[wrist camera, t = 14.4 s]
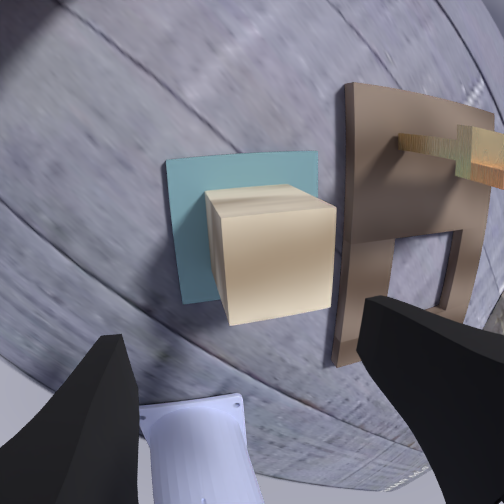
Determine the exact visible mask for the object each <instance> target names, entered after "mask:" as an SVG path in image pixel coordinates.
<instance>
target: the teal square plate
mask: <svg viewBox="0 0 504 504" xmlns="http://www.w3.org/2000/svg"><path fill="white" fill-rule="evenodd" d="M166 168H167V180H168V191H169V201H170V211H171V220H172V229H173V237H174V245H175V253H176V261H177V268H178V275H179V282H180V289H181V296H182V302H183V305H184V304H191V303H199V302H206V301H213V300H220V299H221V298H220V295H219V292H218V289H217V286H216V283H215V280H214V277H213V274H212V270H211V260H210V249H209V238H208V227H207V215H206V202H205V191H209V190H219V189H230V188H241V187H253V186H265V185H279V184H289V185H291V186H293V187H295V188H297V189H300V190H302V191H304V192H306V193H308V194H310V195H312V196H314V197H316V198H318V151H285V152H259V153H241V154H226V155H213V156H201V157H190V158H180V159H171V160H166Z"/></svg>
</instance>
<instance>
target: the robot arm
mask: <svg viewBox="0 0 504 504" xmlns="http://www.w3.org/2000/svg"><path fill="white" fill-rule="evenodd" d="M356 351H357V353H358V355H359V357H360V359H361V361H362V363H363V365H364V366H365V368H366V370H367V371H368V373H369V375H370V376H371V378H372V379H373V380H374V382H375V383H376V384H377V386H378V387H379V388H380V390H381V391H382V392H383V393H384V395H385V396H386V397H387V399H388V400H389V401H390V402H391V404H392V405H393V406H394V408H395V409H396V410H397V412H398V413H399V414H400V415H401V417H402V418H403V419H404V421H405V422H406V423H407V425H408V426H409V428H410V429H411V431H412V432H413V434H414V436H415V438H416V439H417V441H418V443H419V445H420V446H421V448H422V450H423V452H424V454H425V456H426V458H427V460H428V462H429V464H430V466H431V468H432V470H433V472H434V474H435V476H436V479H437V481H438V483H439V486H440V488H441V491H442V493H443V496H444V499H445V502H446V504H499V503H500V502H501V501H502V502H503V503H504V335H502V334H497V333H493V332H489V331H485V330H481V329H478V328H474V327H471V326H468V325H465V324H462V323H459V322H456V321H453V320H450V319H447V318H445V317H442V316H439V315H437V314H434V313H431V312H429V311H426V310H423V309H421V308H418V307H416V306H413V305H410V304H408V303H405V302H402V301H399V300H396V299H393V298H390V297H387V296H383V295H379V296H374V297H369V298H365V303H364V309H363V315H362V321H361V327H360V332H359V338H358V343H357V348H356ZM235 403H237V404H235ZM139 426H140V428H141V430H142V432H143V435H144V437H145V439H146V441H147V443H148V445H149V447H150V453H151V471H152V484H153V497H154V504H265V502H264V500H263V497H262V494H261V491H260V488H259V485H258V482H257V479H256V476H255V473H254V470H253V467H252V464H251V460H250V457H249V454H248V451H247V440H246V429H245V418H244V406H243V398H242V395H241V394H239V393H233V394H227V395H221V396H215V397H208V398H202V399H195V400H187V401H179V402H171V403H162V404H152V405H141V406H139V396H138V387H137V383H136V380H135V377H134V374H133V371H132V368H131V364H130V361H129V358H128V354H127V351H126V347H125V344H124V340H123V337H122V334H116V335H104V336H100V338H99V339H98V340H97V341H96V343H95V344H94V345H93V346H92V348H91V349H90V350H89V352H88V353H87V354H86V355H85V357H84V358H83V359H82V361H81V362H80V363H79V365H78V366H77V367H76V368H75V370H74V371H73V372H72V373H71V375H70V376H69V377H68V379H67V380H66V381H65V382H64V384H63V385H62V386H61V387H60V388H59V389H58V390H57V392H56V393H55V394H54V395H53V396H52V397H51V399H50V400H49V401H48V402H47V403H46V405H45V406H44V407H43V408H42V409H41V410H40V411H39V412H38V414H36V415H35V416H34V418H33V419H32V420H31V421H30V422H29V423H28V424H26V426H25V427H23V428H22V429H21V430H20V431H19V432H18V433H17V434H16V435H15V436H14V437H13V438H11V439H10V440H9V441H8V442H7V443H5V444H4V445H3V446H2V447H1V448H0V504H139V503H138V491H137V468H138V443H139V442H138V441H139Z"/></svg>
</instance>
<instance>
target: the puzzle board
mask: <svg viewBox="0 0 504 504" xmlns="http://www.w3.org/2000/svg"><path fill="white" fill-rule="evenodd" d="M345 110H346V180H345V210H344V231H343V247H342V261H341V274H340V286H339V296H338V306H337V316H336V325H335V333H334V341H333V349H332V357H331V361H332V362H333V363H334V365H335V366H336V368H338V367H342V366H346V365H349V364H352V363H356V362H359V361H361V359H360V357H359V355H358V353H357V351H356V348H357V343H358V338H359V332H360V327H361V321H362V315H363V309H364V303H365V298H369V297H374V296H379V295H383V296H387V294H388V288H389V281H390V275H391V268H392V260H393V253H394V244H395V239H396V238H403V237H410V236H418V235H425V234H433V233H440V232H447V231H454V232H453V238H452V244H451V250H450V256H449V261H448V266H447V271H446V276H445V281H444V285H443V290H442V294H441V298H440V302H439V305H438V306H435V307H432V308H429V309H426V311H429V312H431V313H434V314H437V315H439V316H442V317H445V318H447V319H450V320H453V321H456V322H459V323H462V324H463V321H464V318H465V315H466V311H467V308H468V305H469V301H470V297H471V294H472V290H473V286H474V282H475V278H476V274H477V269H478V265H479V260H480V256H481V251H482V246H483V240H484V235H485V229H486V223H487V216H488V209H489V201H490V193H491V186H489V185H486V184H483V183H479V182H476V181H472V180H469V179H465V178H462V177H458V176H455V169H456V160H452V159H447V158H442V157H437V156H432V155H426V154H421V153H415V152H410V151H403V150H398V133H404V134H414V135H423V136H432V137H440V138H447V139H454V140H457V125H466V126H474V127H478V128H482V129H486V130H490V131H494V114H493V113H490V112H487V111H484V110H481V109H478V108H474V107H471V106H468V105H464V104H460V103H457V102H453V101H449V100H445V99H441V98H437V97H433V96H429V95H424V94H420V93H415V92H410V91H405V90H400V89H394V88H389V87H383V86H377V85H370V84H363V83H356V82H352V83H347V84H345Z"/></svg>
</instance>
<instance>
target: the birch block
mask: <svg viewBox="0 0 504 504" xmlns="http://www.w3.org/2000/svg"><path fill="white" fill-rule="evenodd" d="M205 202H206V215H207V227H208V238H209V249H210V260H211V270H212V274H213V277H214V280H215V283H216V286H217V289H218V292H219V295H220V298H221V301H222V304H223V307H224V310H225V313H226V316H227V319H228V322H229V325H230V326H232V325H239V324H245V323H251V322H257V321H262V320H268V319H274V318H279V317H285V316H290V315H295V314H300V313H305V312H311V311H316V310H320V309H325V308H330V307H331V295H332V283H333V268H334V252H335V233H336V207H335V206H333V205H331V204H329V203H327V202H325V201H323V200H321V199H318V198H316V197H314V196H312V195H310V194H308V193H306V192H304V191H302V190H300V189H297V188H295V187H293V186H291V185H289V184H279V185H265V186H253V187H241V188H230V189H219V190H209V191H205Z"/></svg>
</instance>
